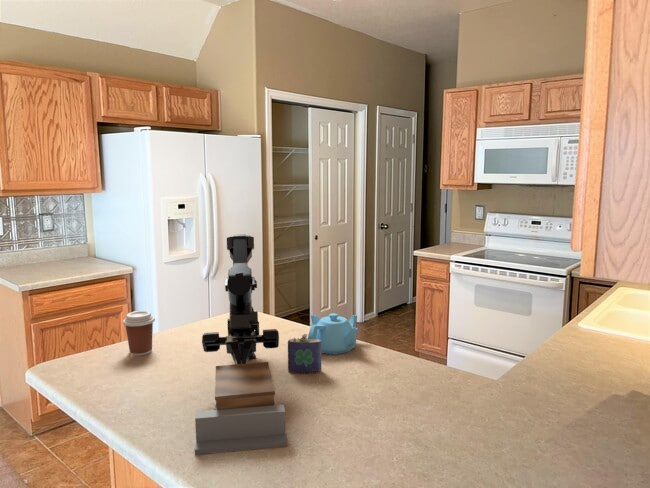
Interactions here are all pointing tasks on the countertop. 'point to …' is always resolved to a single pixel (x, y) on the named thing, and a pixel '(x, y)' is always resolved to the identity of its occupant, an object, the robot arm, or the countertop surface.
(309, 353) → the flask
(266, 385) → the recipe box
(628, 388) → the countertop surface
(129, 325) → the coffee cup
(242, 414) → the gray flanged bar
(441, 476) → the countertop surface
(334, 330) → the teapot
